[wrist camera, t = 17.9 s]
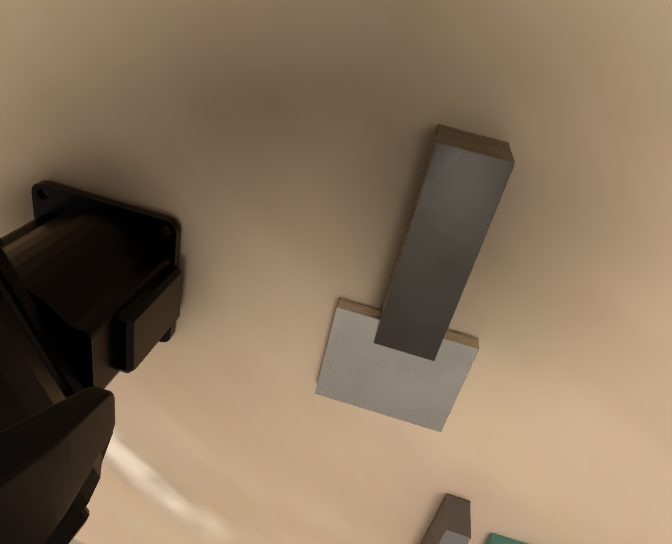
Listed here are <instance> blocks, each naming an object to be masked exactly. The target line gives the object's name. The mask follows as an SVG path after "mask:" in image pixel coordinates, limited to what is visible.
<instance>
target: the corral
mask: <svg viewBox="0 0 672 544" xmlns="http://www.w3.org/2000/svg"><path fill="white" fill-rule="evenodd" d="M470 539H471V519H470V502H469V501H466V500H463V499H460V498H457V497H454V496H451V495H448V494H447V496H446V498H445V499H444V501H443V503H442V505H441V507H440V509H439V511H438V513H437V514H436V516H435V518H434V520H433V522H432V524H431V526H430V528H429V529H428V531H427V533H426V535H425V537H424V539H423V541H422V543H421V544H468V542H469V540H470Z"/></svg>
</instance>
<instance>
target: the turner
mask: <svg viewBox="0 0 672 544" xmlns="http://www.w3.org/2000/svg"><path fill="white" fill-rule="evenodd" d="M514 164H515V162H514V159H513V156H512V152H511V149H510V146H509V143H508V142H504V141H500V140H496V139H492V138H489V137H485V136H481V135H477V134H474V133H470V132H466V131H462V130H458V129H455V128H451V127H447V126H443V125H440V124H439V127H438V130H437V133H436V137H435V140H434V143H433V146H432V149H431V153H430V156H429V159H428V162H427V165H426V168H425V172H424V175H423V178H422V181H421V184H420V188H419V191H418V194H417V197H416V200H415V204H414V207H413V210H412V213H411V216H410V220H409V223H408V226H407V229H406V232H405V236H404V239H403V242H402V245H401V248H400V252H399V255H398V258H397V261H396V264H395V267H394V271H393V274H392V277H391V280H390V283H389V287H388V290H387V293H386V296H385V299H384V303H383V306H382V309H381V310H379V309H375V308H372V307H368V306H365V305H362V304H358V303H355V302H351V301H348V300H345V299H341V298H340V300H339V303H338V306H337V309H336V313H335V316H334V320H333V324H332V328H331V332H330V336H329V340H328V344H327V348H326V352H325V356H324V359H323V363H322V367H321V371H320V375H319V379H318V383H317V387H316V391H315V394H319V395H322V396H325V397H328V398H332V399H335V400H338V401H341V402H345V403H348V404H351V405H354V406H358V407H361V408H364V409H367V410H371V411H374V412H377V413H380V414H384V415H387V416H390V417H393V418H397V419H400V420H403V421H406V422H410V423H413V424H416V425H419V426H423V427H426V428H429V429H432V430H436V431H439V432H441V431H442V429H443V426H444V424H445V422H446V420H447V418H448V416H449V413H450V411H451V409H452V407H453V405H454V403H455V400H456V398H457V396H458V394H459V392H460V390H461V387H462V385H463V383H464V381H465V379H466V376H467V374H468V372H469V370H470V368H471V366H472V363H473V361H474V359H475V357H476V355H477V353H478V350H479V340H478V339H477V338H474V337H471V336H467V335H464V334H460V333H457V332H454V331H450V330H447V329H448V326H449V324H450V321H451V319H452V316H453V314H454V312H455V309H456V307H457V304H458V302H459V299H460V297H461V294H462V292H463V289H464V287H465V285H466V282H467V280H468V277H469V275H470V272H471V270H472V267H473V265H474V262H475V260H476V257H477V255H478V253H479V250H480V248H481V245H482V243H483V240H484V238H485V235H486V233H487V230H488V228H489V226H490V223H491V221H492V218H493V216H494V213H495V211H496V208H497V206H498V203H499V201H500V199H501V196H502V194H503V191H504V189H505V186H506V184H507V181H508V179H509V176H510V174H511V172H512V169H513V167H514Z"/></svg>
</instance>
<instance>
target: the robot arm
mask: <svg viewBox="0 0 672 544" xmlns="http://www.w3.org/2000/svg"><path fill="white" fill-rule="evenodd" d="M44 191H45V192H46V193H47V194H48V196H47V195H46V194H45V193H44ZM32 200H33V209H34V220H33V221H31V222H29V223H27V224H25V225H24V226H22V227H20V228H18V229H17V230H15V231H13V232H11V233H9V234H8V235H6V236H4V237H2V238H0V544H69V543H70V542H71V540H72V539H73V538H74V537H75V535H76V534H77V533H78V532H79V530H80V529H81V528H82V527H83V525H84V524H85V522H86V520H87V518H88V516H89V510H88V509H87V507H86V506H87V504H88V503H89V501H90V498H91V496H92V494H93V492H94V490H95V488H96V486H97V484H98V481H99V479H100V475H101V465H102V461H103V458H104V455H105V453H106V450H107V447H108V445H109V442H110V439H111V436H112V434H113V429H114V425H115V397H114V394H113V393H112V392H111V391H108V390H105V388H106V386H107V385H108V384H109V383H110V382H111V381H112V380H113V378H114V377H115V376H116V375H117V374H118V373H119V371H122V372H125V373H130V372H132V371H133V370H135V369H136V368H137V367H138V365H139V364H140V363H141V362H142V361H143V359H144V358H145V357H146V356H147V355H148V353H149V352H150V351H151V350H152V349H153V347H154V346H155V345H156V344H157V343H158V341H160V342H167V341H169V340H170V339H171V337H172V336H173V335H174V332H175V321H176V320H177V319H178V317H179V316H180V305H181V289H182V274H183V273H182V271H181V268H180V267H179V251H180V234H181V229H180V225H179V224H178V222H177V221H176V220H175V219H173V218H171V217H169V216H166V215H162V214H159V213H155V212H152V211H149V210H145V209H142V208H139V207H135V206H132V205H128V204H125V203H122V202H118V201H115V200H111V199H108V198H105V197H101V196H98V195H95V194H91V193H88V192H84V191H81V190H78V189H74V188H71V187H68V186H64V185H61V184H57V183H54V182H51V181H46V180H43V181H41V182H39V183H37V184H35V185H33V187H32ZM164 226H166V227H168V228H169V229H170V232H171V233H169V232H167V231H166V230H165V229H164Z"/></svg>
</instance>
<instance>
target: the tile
mask: <svg viewBox="0 0 672 544" xmlns="http://www.w3.org/2000/svg"><path fill="white" fill-rule="evenodd" d="M485 544H526V543H523V542H520V541H517V540H513V539H510V538H507V537H503V536H500V535H497V534H493V533H491V535H490V536H489V538H488V540H487V542H486V543H485Z"/></svg>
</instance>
